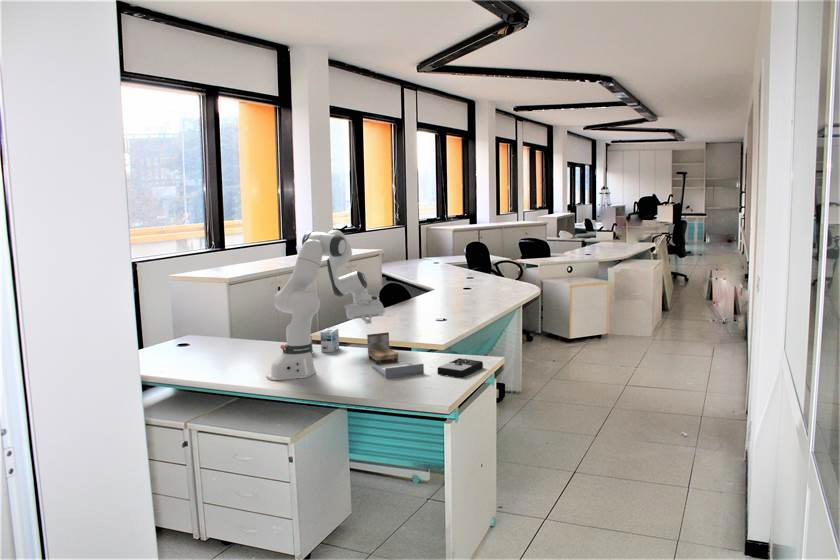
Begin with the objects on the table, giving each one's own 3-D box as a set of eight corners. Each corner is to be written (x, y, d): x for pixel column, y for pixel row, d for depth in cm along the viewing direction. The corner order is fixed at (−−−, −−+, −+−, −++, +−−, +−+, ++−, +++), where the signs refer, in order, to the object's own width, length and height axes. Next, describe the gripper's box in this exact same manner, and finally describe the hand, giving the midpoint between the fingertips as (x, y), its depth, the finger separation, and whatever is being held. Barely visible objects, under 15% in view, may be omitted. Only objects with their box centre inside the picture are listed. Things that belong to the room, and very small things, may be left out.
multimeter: (483, 368, 318) (483, 358, 317) (462, 379, 302) (461, 367, 302) (459, 365, 325) (458, 355, 325) (437, 375, 310) (436, 364, 309)
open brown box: (376, 365, 329) (375, 340, 328) (367, 358, 342) (366, 334, 341) (398, 362, 333) (397, 337, 332) (389, 355, 346) (388, 332, 345)
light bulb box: (333, 352, 358) (332, 332, 356) (320, 352, 359) (319, 332, 358) (339, 347, 368) (338, 328, 367) (327, 347, 370) (326, 327, 368)
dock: (386, 380, 305) (385, 368, 304) (370, 368, 327) (370, 357, 326) (423, 375, 311) (423, 364, 311) (406, 364, 333) (405, 353, 332)
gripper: (344, 300, 358) (350, 321, 350) (381, 296, 365) (388, 317, 357) (342, 307, 362) (348, 328, 354) (379, 303, 370) (385, 324, 362)
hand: (368, 323), depth 356 cm, fingers closed
